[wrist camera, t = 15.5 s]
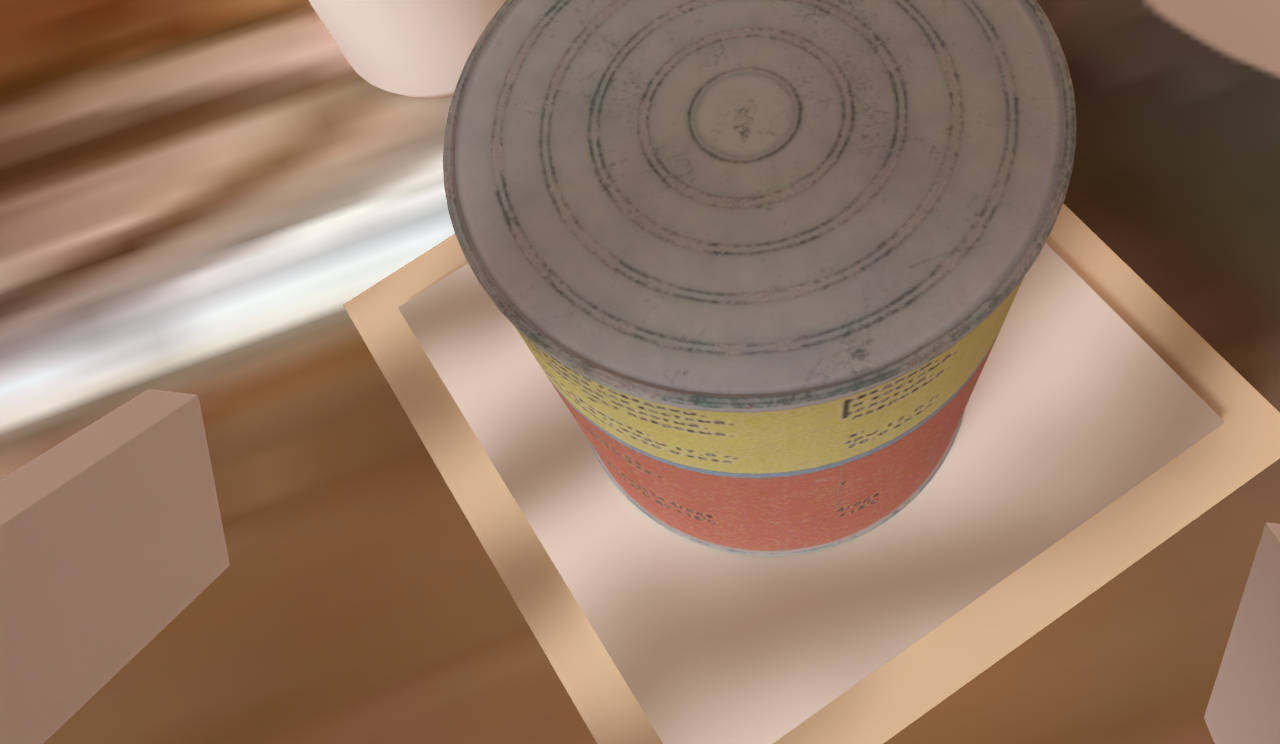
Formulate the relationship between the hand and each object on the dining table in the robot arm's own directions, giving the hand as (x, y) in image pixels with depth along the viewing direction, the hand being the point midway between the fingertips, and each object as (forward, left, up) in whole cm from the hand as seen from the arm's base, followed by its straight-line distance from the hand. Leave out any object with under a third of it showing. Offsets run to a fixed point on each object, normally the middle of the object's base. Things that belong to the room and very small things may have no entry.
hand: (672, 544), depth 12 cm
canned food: (-6, +5, -15) cm, 17 cm away
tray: (-6, +6, -20) cm, 22 cm away
